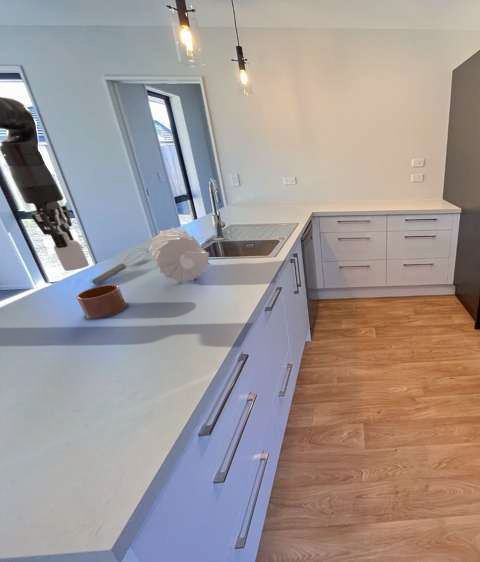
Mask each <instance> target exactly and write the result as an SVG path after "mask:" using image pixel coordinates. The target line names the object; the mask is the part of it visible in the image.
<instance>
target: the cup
mask: <svg viewBox="0 0 480 562" xmlns="http://www.w3.org/2000/svg"><path fill="white" fill-rule="evenodd" d="M121 292H122V291H121V290H120V287H119V285H116V284H105V285H104V284H103V285H98V286H94V287H91V288H89V289H86V290H84V291H82V292H80V293H78V294H77V295H76V299H77V302H78V304H79V305H80V308H81V309H82V312H83V313H84V315H85V317H86V318H87V319H90V320H97V319H103V318H106V317H110V316H113V315H116V314H118V313H120V312H122V311H123V310H124V309H126V307H127V303H126V301H125V299H124V296H123V295H122V293H121Z"/></svg>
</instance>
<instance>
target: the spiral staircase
mask: <svg viewBox="0 0 480 562" xmlns="http://www.w3.org/2000/svg"><path fill="white" fill-rule="evenodd" d="M150 240H151V241H152V243H151V246H150V248H149V249H148V251H149V252H151V253H152V255H151V257H152V258H153V260H154V262H156V267H157V268H158V269H159V272H160V273H161V274H163V275H164V276H165V277H164V278H166V279H168V278H171V279H173V280H175V281H177V282H179V283H181V282H182V281H194V280H195V279H196V278H198V277H200V276H202V275H205V271H206V270H207V268H208V267H209V266H210V265H211V262H209V259H210V252H208V251H206V249H202V244H200V243H199V241H197V239H195V238H194V236H193V235H190V234H189V233H188V232H187V231H186V230H185V229H182V230H180V229H177V228H175V227H171V228H170V229H167V230H166V229H165V230H159V234H157V235H156V236H154V237H152V238H151V239H150Z"/></svg>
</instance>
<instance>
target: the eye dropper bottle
mask: <svg viewBox="0 0 480 562" xmlns="http://www.w3.org/2000/svg"><path fill="white" fill-rule="evenodd" d="M61 234H63V237H64V239H65V241H66V243H67V245H68V246H67V247H64V248H57V247H56V245H55V243H54V244H53V245H52V248H53V251H54V253H55V254H56V257H57V259H58V260H59V263H60V264H61V267H62V268H63V270H64V271H67V272H70V271H75V270H80V269H84V268H86V267H89V266H90V263H89V261H88V258H87V257H86V254H85V252H84V250H83V248H82V246H81V244H80V242H79V241H78V240H75V239H74V240H69V237H68V234H67V233H66V232H63V231H62V230H61Z"/></svg>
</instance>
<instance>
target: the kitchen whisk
mask: <svg viewBox="0 0 480 562" xmlns="http://www.w3.org/2000/svg"><path fill="white" fill-rule="evenodd" d="M137 250H138V251H136V249H134V250H133V251H130V253H129V254H128V255H127V256H126V258H124V260H123V261H122V263H119V264H117V265H115V266H113V267H112V268H110V269H108V270H106V271H105V272H103V273H101V274H100V275H98V276H96V277H94V278H92V279H91V280H90V281H89V285H90V286H91V287H93V285H94V286H95V287H99V286H100V284H102V283H104V282H105V281H107V280H109V279H110V278H112V277H114V276H115V275H117V274H119V273H120V272H122V271H124V270H125V269H127V268H128V267H129V268H131V267H132V266H133V267H134V266H139V265H141V264H143V263H145V261H146V260H148V259H150V257H151V256H152V253H153V252H150V251H149V249H148V248H145V247H144V248H143V247H141V249H140V247H138V248H137ZM141 251H142V252H143V251H144V252H143V253H142V254H140V257H142V256H143V255H145V257H144V258H143V259H142V260H139V261H137V262H134V263H132V264H130V263H131V262H133V261H135V260H137V259H138V256H136V257H134V258H133V259H131V258H132V257H133V256H134V254H137V253H138V252H141ZM150 254H151V255H150ZM148 255H149V256H148ZM147 256H148V257H147ZM130 259H131V260H130ZM127 260H129V261H128V262H126V261H127ZM140 262H141V263H140ZM91 283H92V284H93V285H92V284H91Z"/></svg>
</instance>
